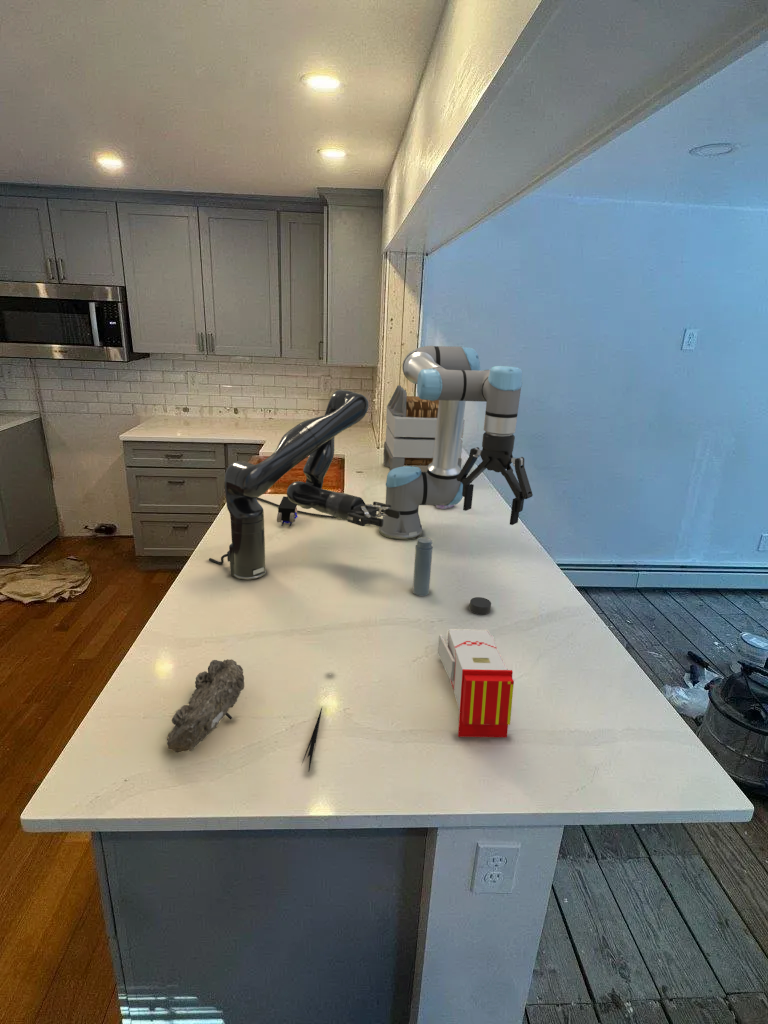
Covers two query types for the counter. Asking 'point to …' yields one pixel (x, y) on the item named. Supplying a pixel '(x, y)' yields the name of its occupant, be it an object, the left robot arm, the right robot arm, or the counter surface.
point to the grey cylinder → (422, 566)
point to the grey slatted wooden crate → (411, 431)
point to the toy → (478, 682)
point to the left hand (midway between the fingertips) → (391, 519)
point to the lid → (480, 605)
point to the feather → (313, 740)
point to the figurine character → (286, 511)
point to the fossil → (206, 705)
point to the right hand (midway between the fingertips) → (489, 516)
